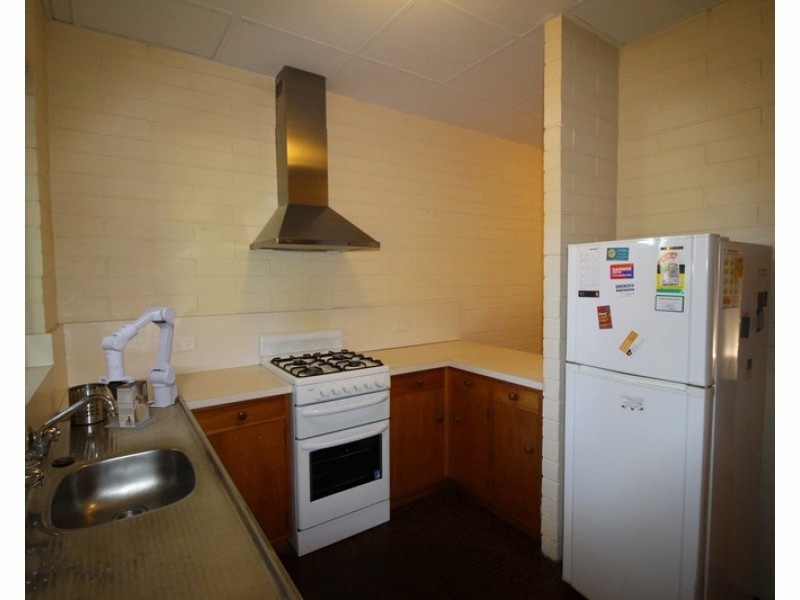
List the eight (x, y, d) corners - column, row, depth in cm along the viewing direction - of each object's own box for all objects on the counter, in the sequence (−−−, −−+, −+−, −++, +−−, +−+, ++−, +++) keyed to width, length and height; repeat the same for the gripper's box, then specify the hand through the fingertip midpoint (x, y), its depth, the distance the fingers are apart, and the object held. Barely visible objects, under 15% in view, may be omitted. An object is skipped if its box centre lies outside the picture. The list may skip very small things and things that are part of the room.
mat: (123, 418, 169) (123, 417, 169) (158, 420, 166) (158, 419, 166) (104, 427, 160) (104, 426, 160) (140, 429, 157) (140, 428, 157)
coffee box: (134, 418, 167) (131, 380, 166) (150, 418, 167) (147, 380, 166) (118, 427, 158) (115, 386, 157) (135, 427, 158) (132, 386, 157)
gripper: (90, 368, 159) (93, 402, 160) (122, 369, 157) (125, 404, 158) (106, 363, 166) (109, 396, 167) (137, 364, 163) (140, 398, 165)
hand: (118, 399), depth 163 cm, fingers closed
